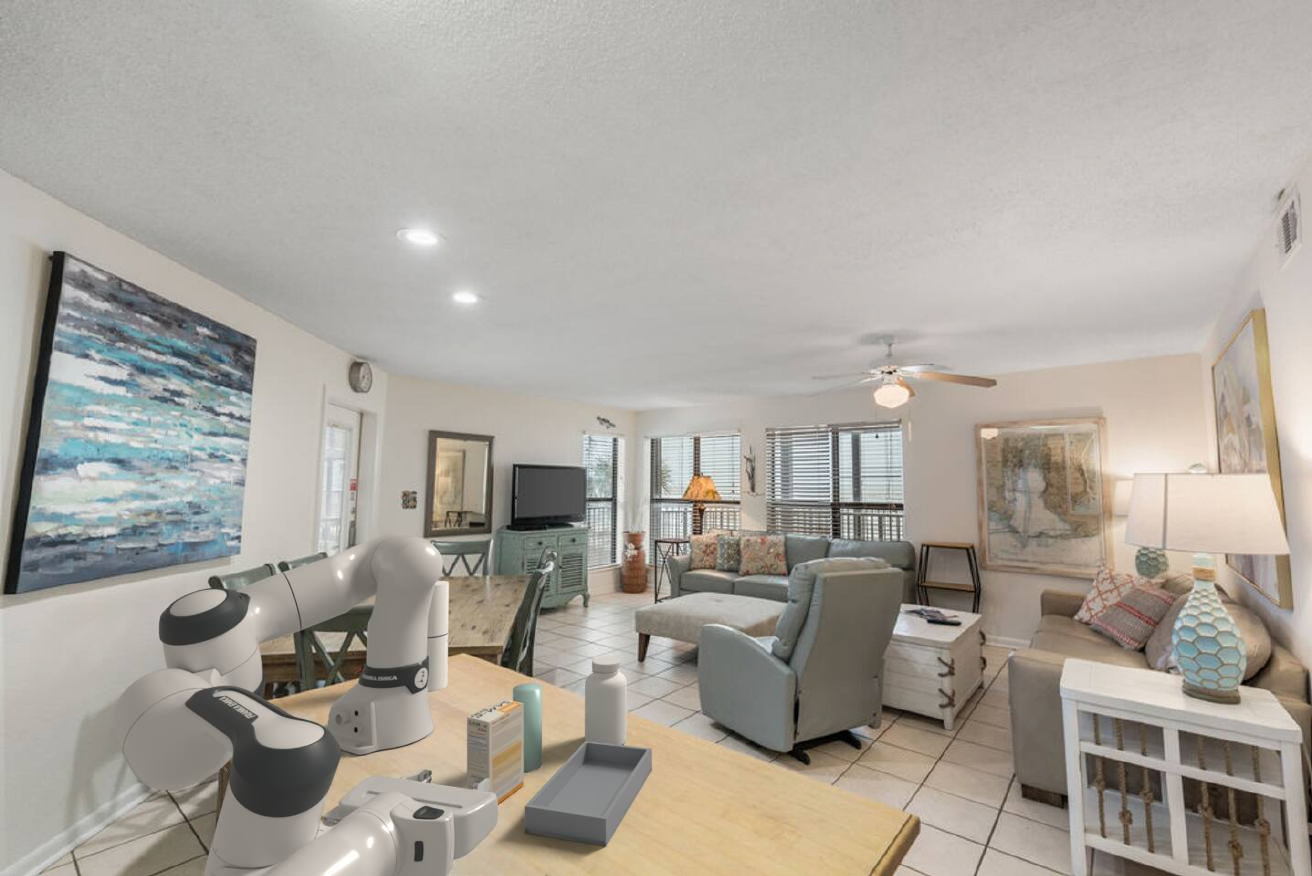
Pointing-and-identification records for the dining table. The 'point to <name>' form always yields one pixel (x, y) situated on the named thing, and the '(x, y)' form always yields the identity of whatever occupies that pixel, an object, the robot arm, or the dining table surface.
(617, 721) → the pill bottle
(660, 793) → the dining table surface
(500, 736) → the supplement box
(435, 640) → the cylindrical container
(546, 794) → the tote
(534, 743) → the candle
